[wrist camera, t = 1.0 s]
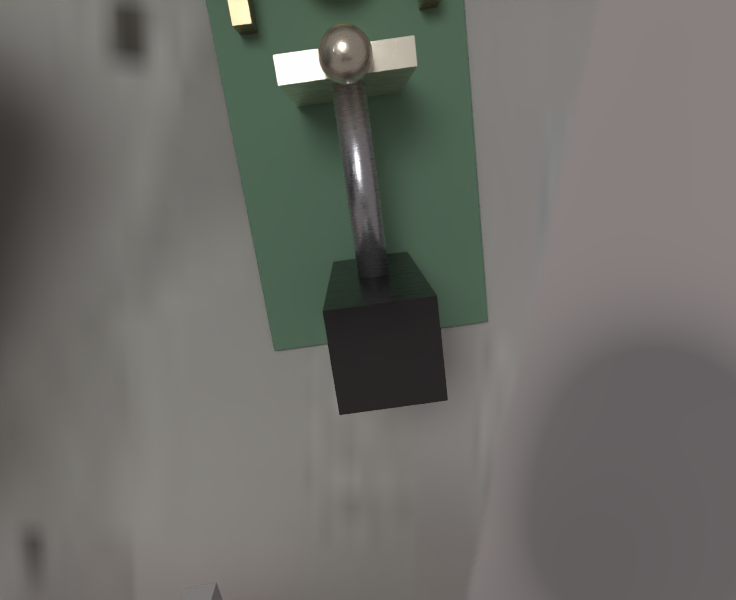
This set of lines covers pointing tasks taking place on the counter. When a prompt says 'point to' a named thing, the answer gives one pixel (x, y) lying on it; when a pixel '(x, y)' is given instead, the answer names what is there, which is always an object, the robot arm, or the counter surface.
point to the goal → (246, 19)
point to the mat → (324, 164)
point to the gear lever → (369, 233)
